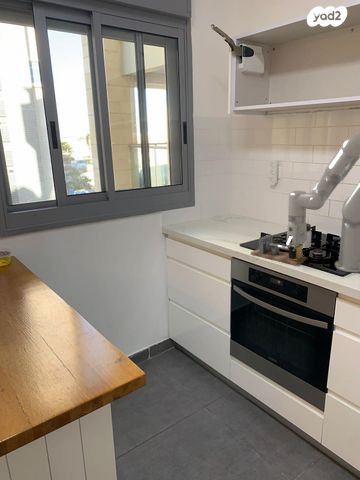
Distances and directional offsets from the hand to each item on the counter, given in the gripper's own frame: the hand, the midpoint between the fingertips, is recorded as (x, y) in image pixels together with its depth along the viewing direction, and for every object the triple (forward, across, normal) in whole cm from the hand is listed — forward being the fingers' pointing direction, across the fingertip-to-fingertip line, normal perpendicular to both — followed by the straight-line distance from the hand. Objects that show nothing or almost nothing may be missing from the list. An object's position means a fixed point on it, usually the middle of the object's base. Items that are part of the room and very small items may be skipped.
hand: (295, 256), depth 164 cm
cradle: (+2, 0, +11) cm, 11 cm away
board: (+2, 0, +9) cm, 10 cm away
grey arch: (+2, 0, +16) cm, 16 cm away
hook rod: (+1, 0, +6) cm, 6 cm away
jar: (+3, +20, +8) cm, 22 cm away
